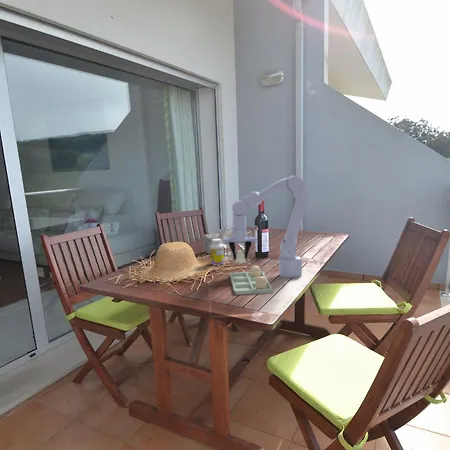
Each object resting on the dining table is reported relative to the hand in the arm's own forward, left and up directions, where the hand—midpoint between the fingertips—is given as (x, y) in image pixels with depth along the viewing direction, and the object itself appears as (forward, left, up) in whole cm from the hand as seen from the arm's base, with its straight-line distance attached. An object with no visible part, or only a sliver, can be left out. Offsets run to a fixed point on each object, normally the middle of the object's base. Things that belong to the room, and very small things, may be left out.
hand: (240, 258), depth 145 cm
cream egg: (0, 0, -1) cm, 1 cm away
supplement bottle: (+10, -21, -9) cm, 25 cm away
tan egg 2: (-6, +18, -8) cm, 20 cm away
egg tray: (-2, +11, -8) cm, 14 cm away
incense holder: (+11, -45, -9) cm, 47 cm away
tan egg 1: (-6, +4, -8) cm, 10 cm away
